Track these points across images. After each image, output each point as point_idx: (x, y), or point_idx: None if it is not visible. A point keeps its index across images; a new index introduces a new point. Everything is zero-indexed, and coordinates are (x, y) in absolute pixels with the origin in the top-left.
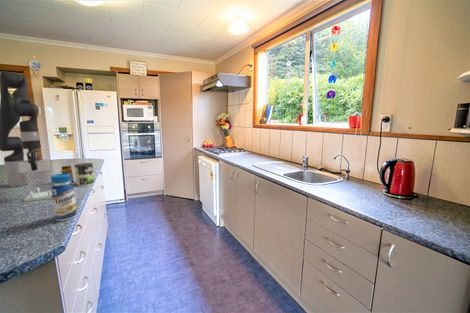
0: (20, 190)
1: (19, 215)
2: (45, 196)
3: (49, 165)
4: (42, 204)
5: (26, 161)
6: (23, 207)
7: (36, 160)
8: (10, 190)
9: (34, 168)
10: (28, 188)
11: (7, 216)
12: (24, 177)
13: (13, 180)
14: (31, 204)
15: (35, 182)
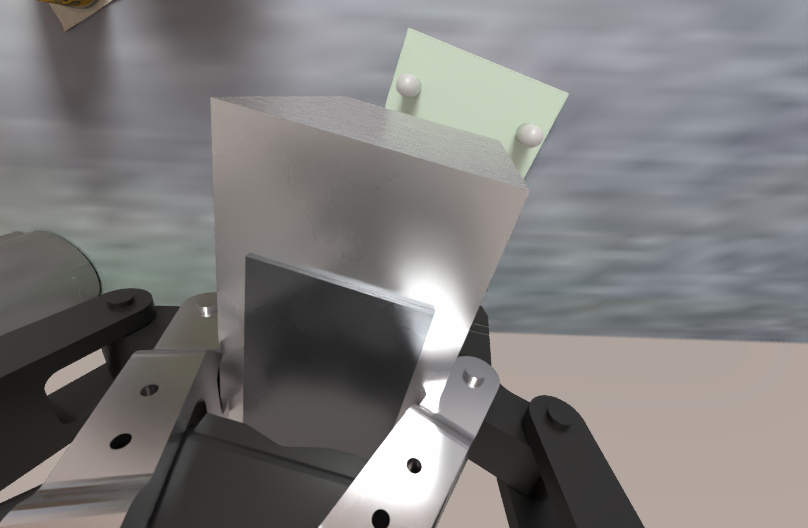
0: (191, 266)
1: (765, 292)
2: (527, 161)
3: (358, 108)
4: (652, 183)
5: None
6: (607, 270)
7: (410, 387)
8: (168, 302)
9: (483, 326)
10: (161, 232)
11: (713, 331)
12: (7, 263)
13: (57, 308)
14: (581, 235)
15: (12, 192)
